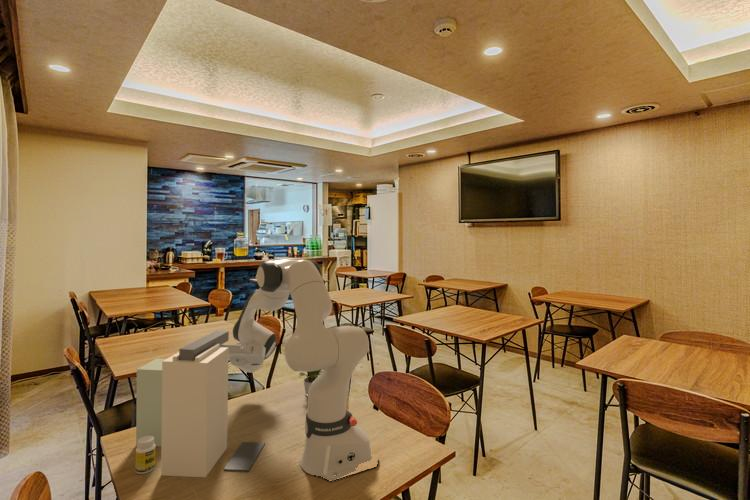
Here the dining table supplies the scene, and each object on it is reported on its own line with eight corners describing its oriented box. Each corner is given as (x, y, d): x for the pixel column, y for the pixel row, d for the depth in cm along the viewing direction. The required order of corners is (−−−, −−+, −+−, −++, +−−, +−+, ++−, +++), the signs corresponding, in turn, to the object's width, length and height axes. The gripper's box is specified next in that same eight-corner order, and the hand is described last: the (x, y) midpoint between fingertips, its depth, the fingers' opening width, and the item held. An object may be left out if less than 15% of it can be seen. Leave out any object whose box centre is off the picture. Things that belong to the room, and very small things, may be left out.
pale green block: (155, 428, 126) (156, 358, 125) (179, 429, 126) (180, 359, 125) (136, 445, 116) (136, 369, 115) (162, 446, 116) (162, 370, 115)
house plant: (303, 406, 145) (304, 364, 145) (286, 394, 156) (287, 354, 155) (334, 397, 155) (335, 357, 154) (316, 386, 165) (317, 348, 164)
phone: (242, 444, 119) (242, 441, 119) (264, 445, 119) (264, 442, 119) (223, 472, 105) (223, 469, 105) (248, 473, 105) (248, 470, 105)
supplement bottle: (146, 475, 102) (146, 445, 101) (130, 473, 103) (131, 442, 102) (159, 465, 107) (159, 436, 106) (145, 462, 107) (145, 433, 107)
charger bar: (216, 339, 122) (216, 330, 122) (228, 340, 122) (228, 331, 122) (179, 360, 102) (179, 348, 102) (193, 360, 102) (193, 349, 102)
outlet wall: (188, 445, 117) (190, 341, 115) (227, 447, 116) (229, 343, 115) (161, 475, 102) (162, 356, 101) (205, 477, 102) (207, 358, 101)
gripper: (216, 345, 144) (201, 335, 132) (269, 347, 144) (260, 338, 131) (212, 362, 141) (196, 354, 129) (267, 364, 141) (256, 356, 129)
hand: (229, 346), depth 130 cm, fingers open, 8 cm apart
